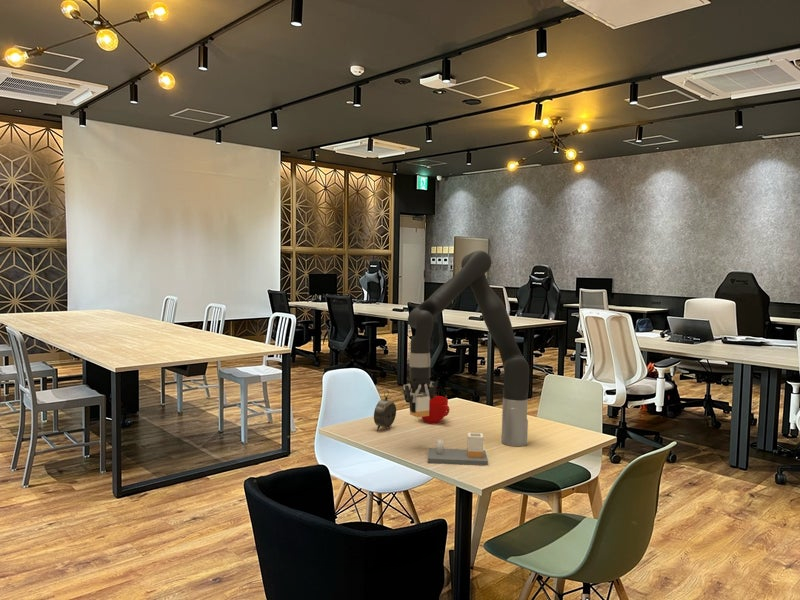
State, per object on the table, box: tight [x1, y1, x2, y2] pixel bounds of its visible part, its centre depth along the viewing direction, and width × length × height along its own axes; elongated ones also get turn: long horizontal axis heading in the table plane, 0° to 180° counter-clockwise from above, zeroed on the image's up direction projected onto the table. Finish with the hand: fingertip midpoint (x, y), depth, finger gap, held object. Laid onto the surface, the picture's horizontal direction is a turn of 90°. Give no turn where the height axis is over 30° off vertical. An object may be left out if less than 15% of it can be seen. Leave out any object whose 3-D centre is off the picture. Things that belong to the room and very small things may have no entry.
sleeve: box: [409, 393, 429, 418], centre depth 214 cm, size 5×5×7 cm
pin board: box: [427, 432, 489, 466], centre depth 202 cm, size 20×12×8 cm, turn 86°
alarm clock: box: [373, 389, 397, 432], centre depth 238 cm, size 11×5×16 cm, turn 149°
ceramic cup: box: [421, 395, 450, 424], centre depth 251 cm, size 13×17×10 cm
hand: (419, 411), depth 214 cm, fingers closed on sleeve, 5 cm apart
